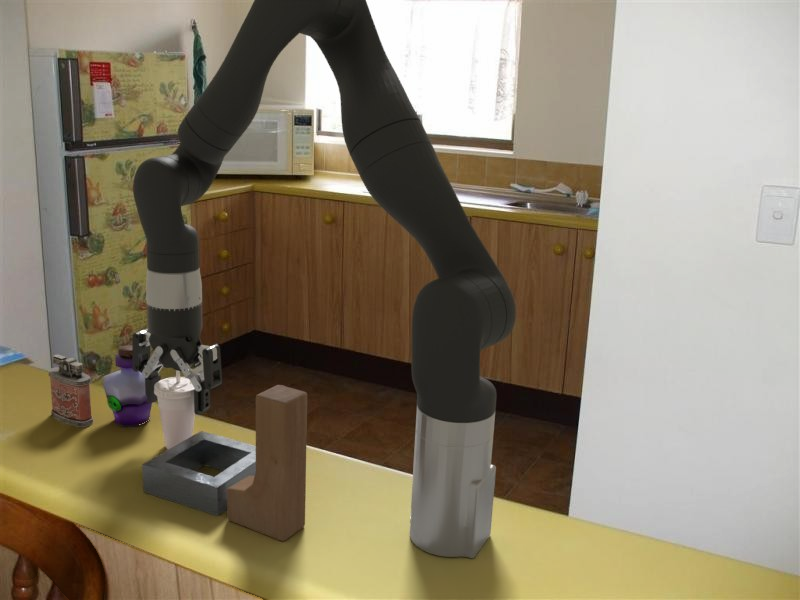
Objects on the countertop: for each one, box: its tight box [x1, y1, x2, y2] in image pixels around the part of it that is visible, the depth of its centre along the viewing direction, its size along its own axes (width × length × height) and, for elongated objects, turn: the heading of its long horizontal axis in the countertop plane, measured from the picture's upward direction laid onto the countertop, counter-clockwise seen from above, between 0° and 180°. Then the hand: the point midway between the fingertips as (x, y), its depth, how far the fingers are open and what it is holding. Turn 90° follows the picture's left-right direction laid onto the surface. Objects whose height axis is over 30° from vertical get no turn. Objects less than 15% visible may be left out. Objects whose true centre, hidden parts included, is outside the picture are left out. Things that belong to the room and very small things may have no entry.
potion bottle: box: [102, 344, 153, 428], centre depth 131 cm, size 9×9×12 cm
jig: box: [142, 430, 256, 517], centre depth 113 cm, size 12×12×4 cm
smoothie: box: [154, 370, 196, 450], centre depth 123 cm, size 6×6×14 cm
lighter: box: [47, 354, 94, 428], centre depth 130 cm, size 8×3×10 cm, turn 58°
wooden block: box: [226, 384, 308, 542], centre depth 103 cm, size 9×4×18 cm, turn 60°
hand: (177, 406), depth 123 cm, fingers open, 8 cm apart
